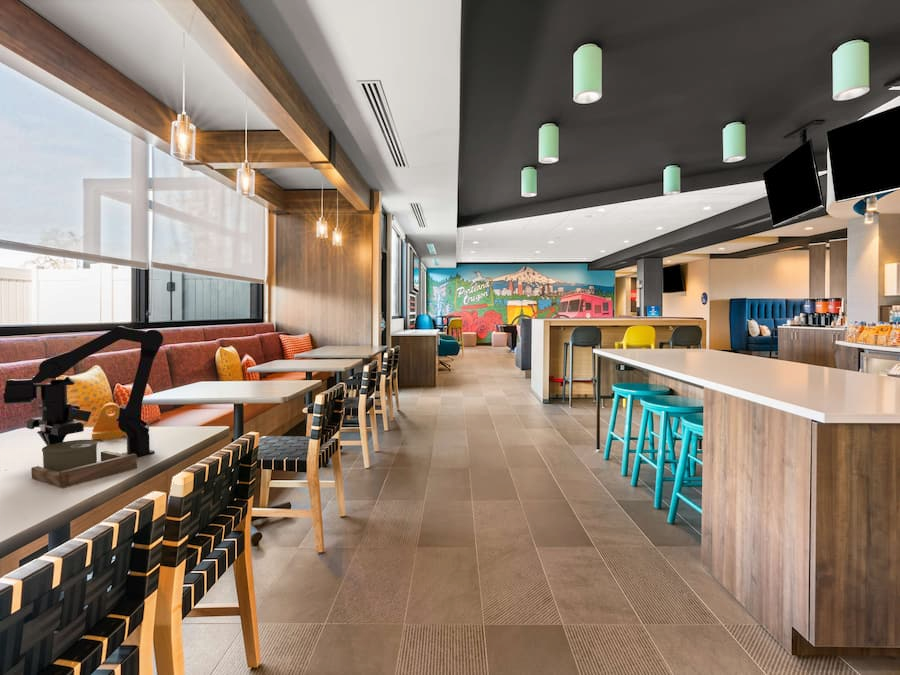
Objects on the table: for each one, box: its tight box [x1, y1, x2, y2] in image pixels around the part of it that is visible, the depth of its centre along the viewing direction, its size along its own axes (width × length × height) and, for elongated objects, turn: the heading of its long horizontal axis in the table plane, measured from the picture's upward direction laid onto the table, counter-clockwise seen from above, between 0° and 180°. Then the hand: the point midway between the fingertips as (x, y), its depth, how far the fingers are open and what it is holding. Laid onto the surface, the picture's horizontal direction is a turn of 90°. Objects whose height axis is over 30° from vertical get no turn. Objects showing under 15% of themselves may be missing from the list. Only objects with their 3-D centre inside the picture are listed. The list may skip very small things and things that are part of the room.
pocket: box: [30, 450, 138, 489], centre depth 127 cm, size 15×18×4 cm
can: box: [41, 439, 98, 472], centre depth 130 cm, size 12×12×7 cm
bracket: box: [91, 402, 127, 441], centre depth 165 cm, size 11×7×12 cm, turn 126°
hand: (55, 454), depth 134 cm, fingers closed
